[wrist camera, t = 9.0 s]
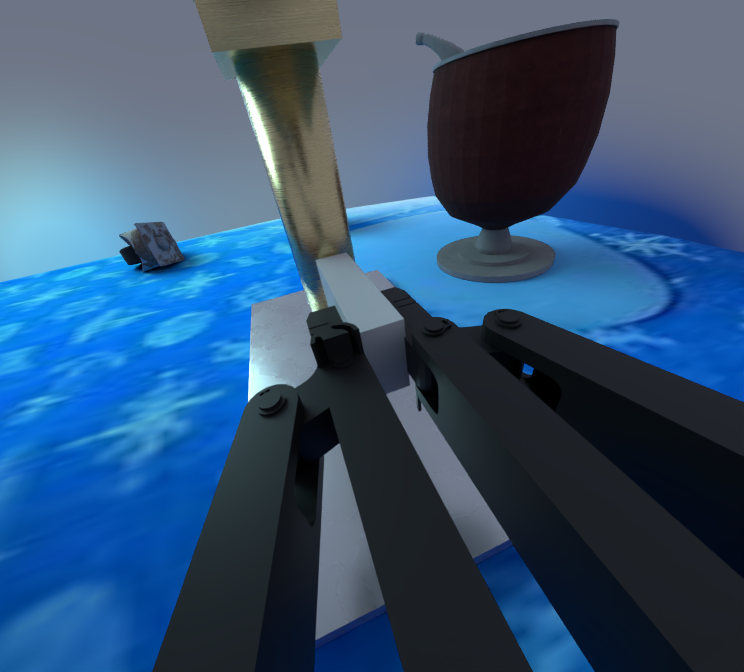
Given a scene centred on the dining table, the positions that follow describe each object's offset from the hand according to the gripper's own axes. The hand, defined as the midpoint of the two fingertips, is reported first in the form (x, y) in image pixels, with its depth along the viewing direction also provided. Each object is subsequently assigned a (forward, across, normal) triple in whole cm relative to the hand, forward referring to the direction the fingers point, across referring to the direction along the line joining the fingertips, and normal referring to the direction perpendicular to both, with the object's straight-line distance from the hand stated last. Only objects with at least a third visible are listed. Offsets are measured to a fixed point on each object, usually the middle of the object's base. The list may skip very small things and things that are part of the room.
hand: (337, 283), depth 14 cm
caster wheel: (+46, -25, -8) cm, 53 cm away
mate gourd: (+14, +19, -8) cm, 25 cm away
